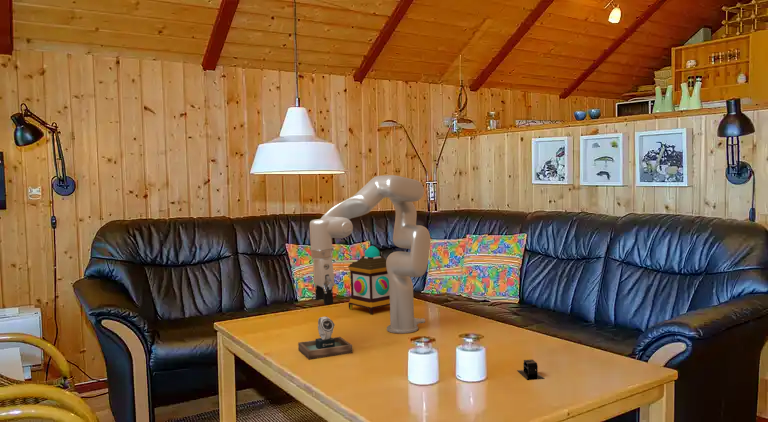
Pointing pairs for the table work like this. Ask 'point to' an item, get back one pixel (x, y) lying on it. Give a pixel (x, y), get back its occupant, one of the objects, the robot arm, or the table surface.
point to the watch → (325, 333)
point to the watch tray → (325, 349)
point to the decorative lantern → (369, 281)
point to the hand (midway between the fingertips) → (324, 301)
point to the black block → (530, 370)
